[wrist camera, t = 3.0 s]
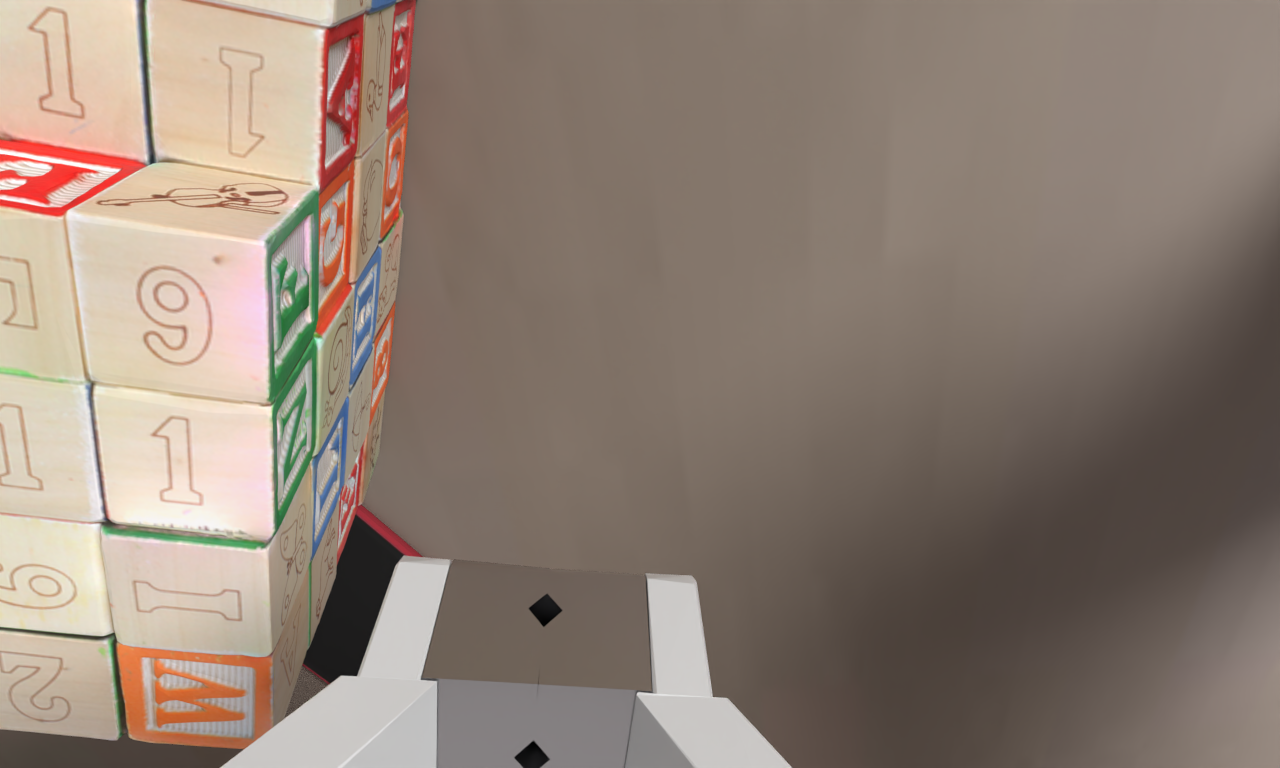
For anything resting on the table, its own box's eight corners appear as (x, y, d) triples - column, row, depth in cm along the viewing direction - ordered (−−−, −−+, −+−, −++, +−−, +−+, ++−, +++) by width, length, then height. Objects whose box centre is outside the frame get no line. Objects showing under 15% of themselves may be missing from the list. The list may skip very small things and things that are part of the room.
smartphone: (301, 463, 29) (585, 702, 35) (310, 449, 30) (585, 685, 36) (169, 570, 31) (456, 779, 37) (181, 554, 32) (459, 761, 38)
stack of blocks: (167, -364, 19) (-377, -745, 8) (448, -287, 20) (292, -537, 9) (194, 434, 29) (-39, 740, 18) (383, 460, 30) (269, 765, 19)
